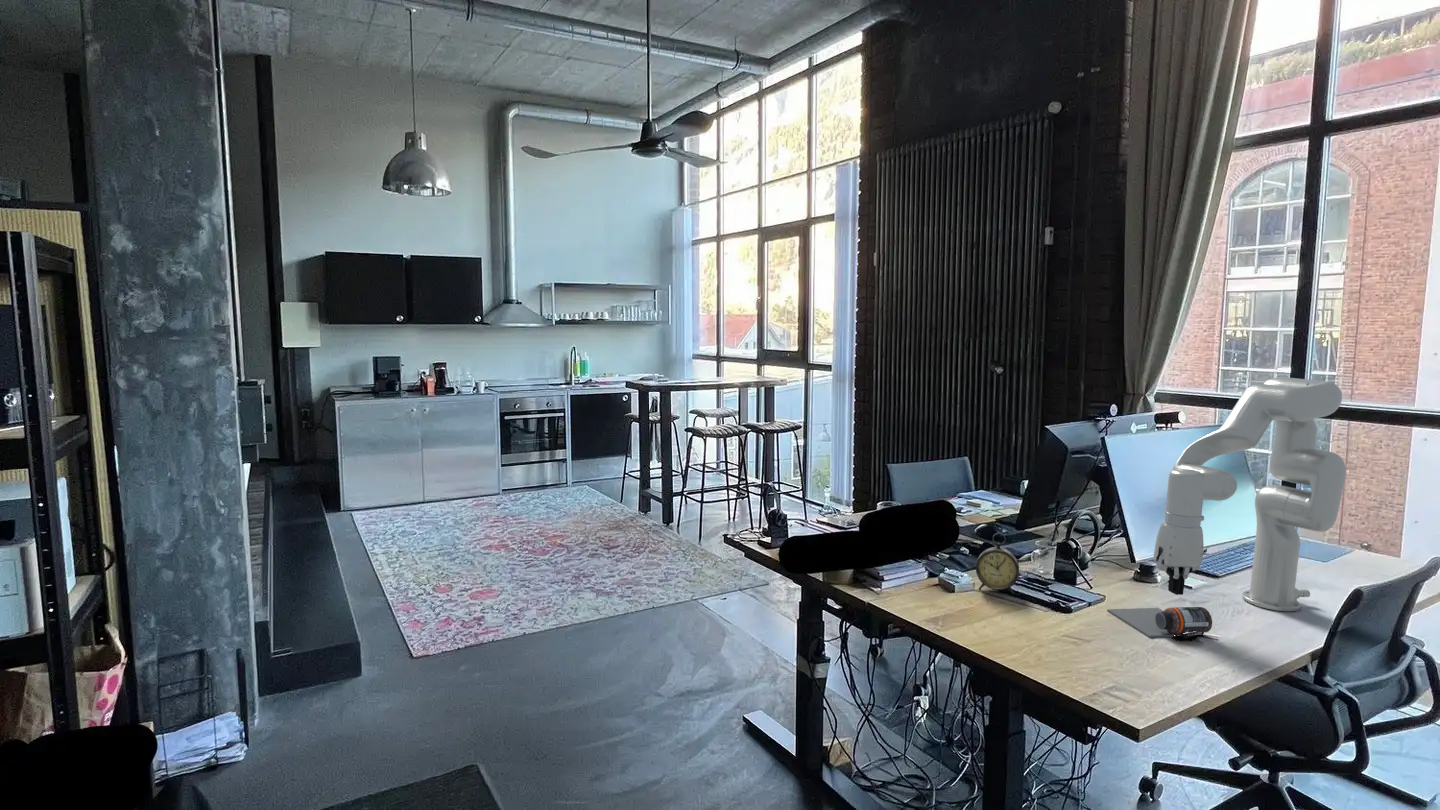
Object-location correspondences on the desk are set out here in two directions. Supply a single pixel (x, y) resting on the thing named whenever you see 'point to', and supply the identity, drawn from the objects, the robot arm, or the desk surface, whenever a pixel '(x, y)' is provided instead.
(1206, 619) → the supplement bottle
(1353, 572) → the desk surface
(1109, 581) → the desk surface
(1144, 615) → the rubber mat
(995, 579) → the alarm clock
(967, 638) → the desk surface
